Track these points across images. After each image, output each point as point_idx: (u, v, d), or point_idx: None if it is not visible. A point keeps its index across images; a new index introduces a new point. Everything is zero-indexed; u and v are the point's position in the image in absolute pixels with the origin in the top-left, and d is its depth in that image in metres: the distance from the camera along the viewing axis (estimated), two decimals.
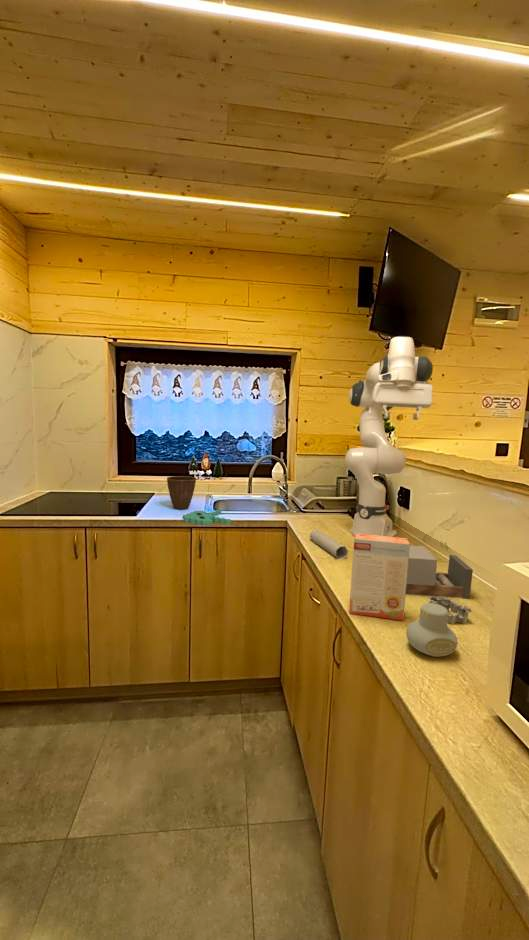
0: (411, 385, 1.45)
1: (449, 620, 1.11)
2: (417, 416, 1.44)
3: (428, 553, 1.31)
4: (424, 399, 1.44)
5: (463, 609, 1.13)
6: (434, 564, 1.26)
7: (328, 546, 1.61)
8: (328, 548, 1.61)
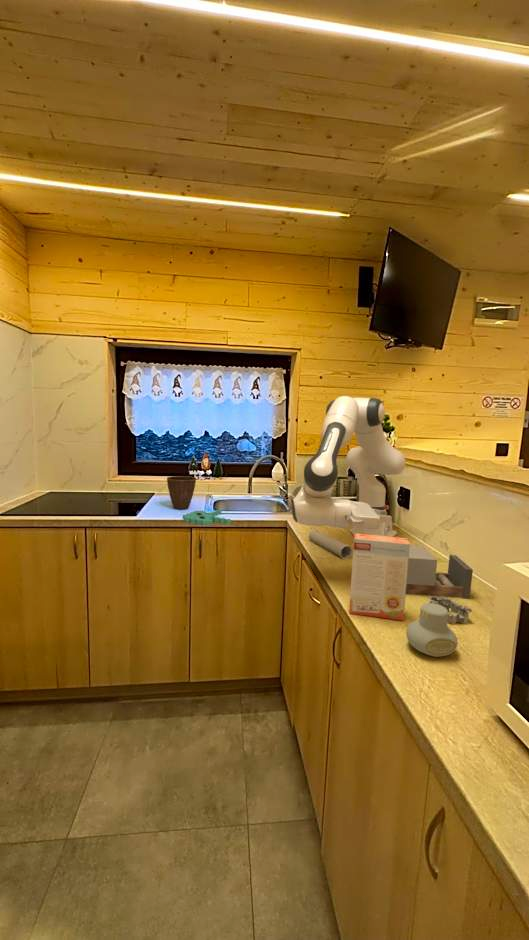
0: None
1: (450, 620, 1.11)
2: None
3: (428, 553, 1.31)
4: None
5: (463, 609, 1.13)
6: (434, 564, 1.26)
7: (331, 546, 1.62)
8: (332, 548, 1.61)
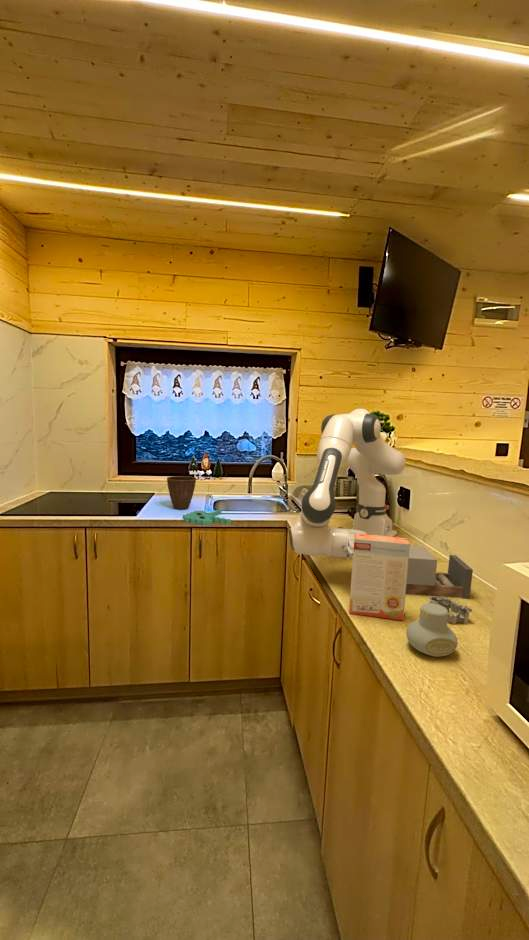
0: None
1: (450, 620, 1.11)
2: None
3: (428, 553, 1.31)
4: None
5: (464, 609, 1.13)
6: (434, 564, 1.26)
7: None
8: None
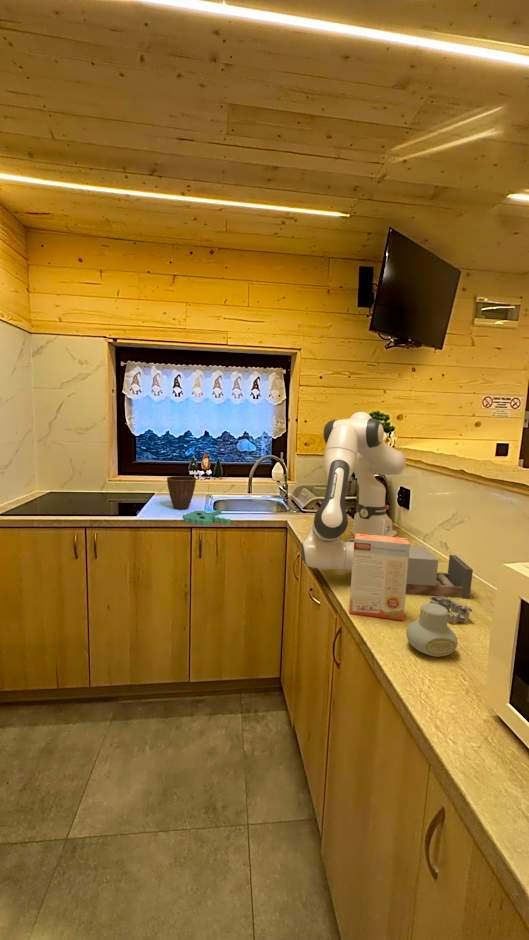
0: None
1: (450, 620, 1.11)
2: None
3: (429, 553, 1.31)
4: None
5: (464, 609, 1.13)
6: (435, 564, 1.26)
7: None
8: None
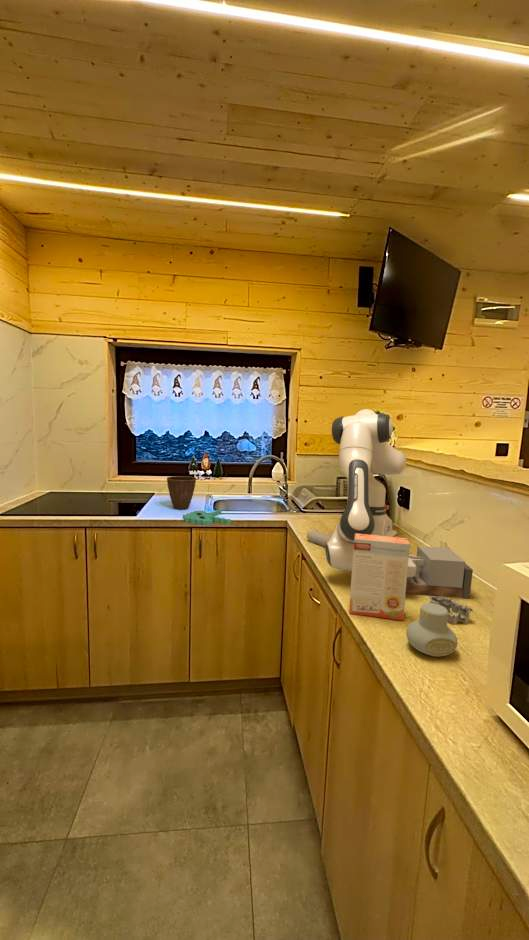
0: None
1: (451, 620, 1.11)
2: None
3: (455, 555, 1.31)
4: None
5: (464, 609, 1.13)
6: (462, 566, 1.26)
7: None
8: None
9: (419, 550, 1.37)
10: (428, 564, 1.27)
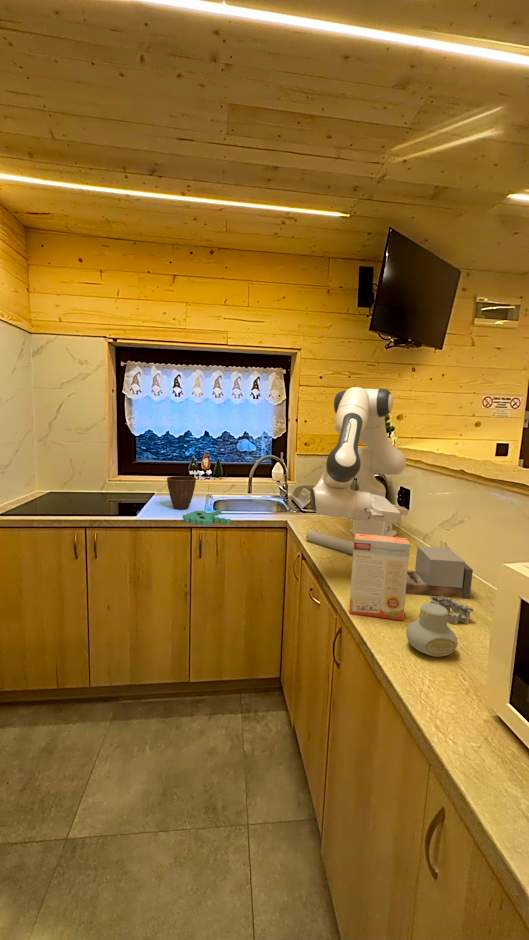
0: None
1: (452, 620, 1.11)
2: None
3: (455, 555, 1.31)
4: None
5: (465, 609, 1.13)
6: (462, 566, 1.26)
7: (341, 545, 1.63)
8: (342, 548, 1.63)
9: (419, 550, 1.37)
10: (428, 564, 1.27)
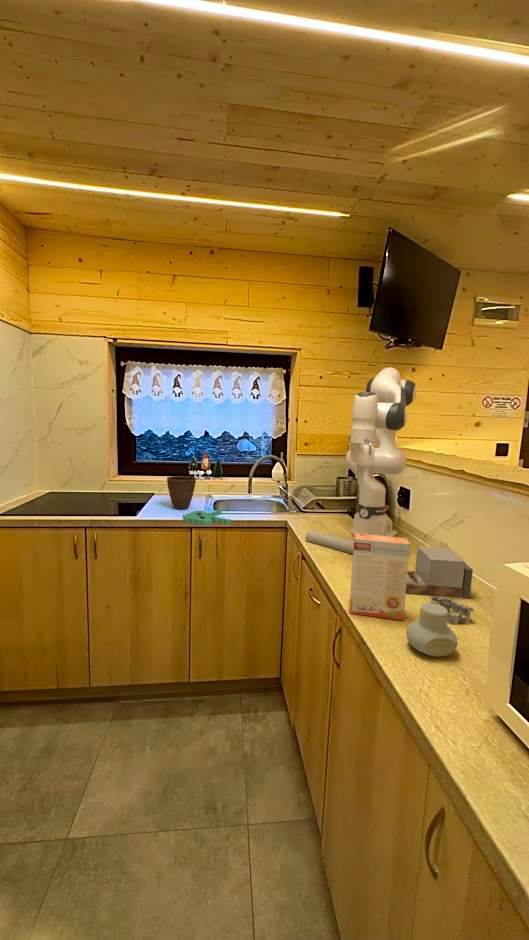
0: (359, 445, 1.49)
1: (452, 620, 1.11)
2: (358, 475, 1.52)
3: (455, 555, 1.31)
4: (361, 461, 1.45)
5: (465, 609, 1.14)
6: (462, 566, 1.26)
7: (343, 545, 1.64)
8: (344, 547, 1.64)
9: (419, 550, 1.37)
10: (428, 564, 1.27)
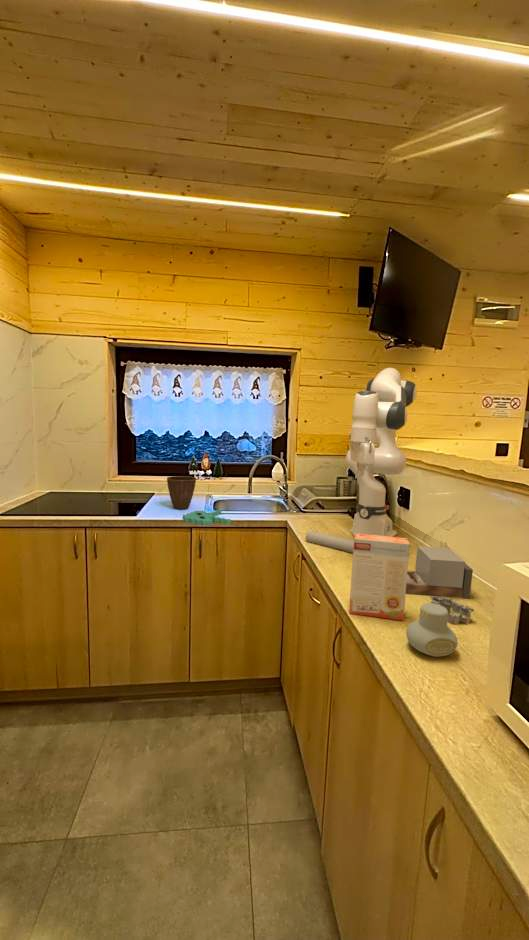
0: (359, 444, 1.49)
1: (452, 620, 1.11)
2: (358, 473, 1.52)
3: (455, 555, 1.31)
4: (361, 459, 1.45)
5: (465, 609, 1.14)
6: (462, 566, 1.26)
7: (344, 545, 1.64)
8: (345, 547, 1.64)
9: (419, 550, 1.37)
10: (428, 564, 1.27)
